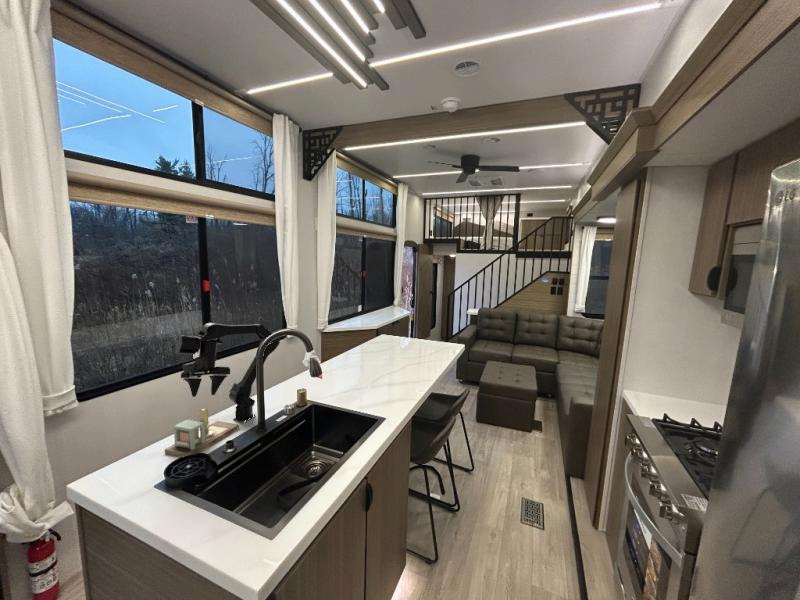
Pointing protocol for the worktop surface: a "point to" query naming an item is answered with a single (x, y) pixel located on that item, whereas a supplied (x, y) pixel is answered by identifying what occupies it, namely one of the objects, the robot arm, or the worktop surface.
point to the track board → (219, 432)
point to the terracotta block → (186, 437)
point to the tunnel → (190, 431)
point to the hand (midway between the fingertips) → (203, 395)
